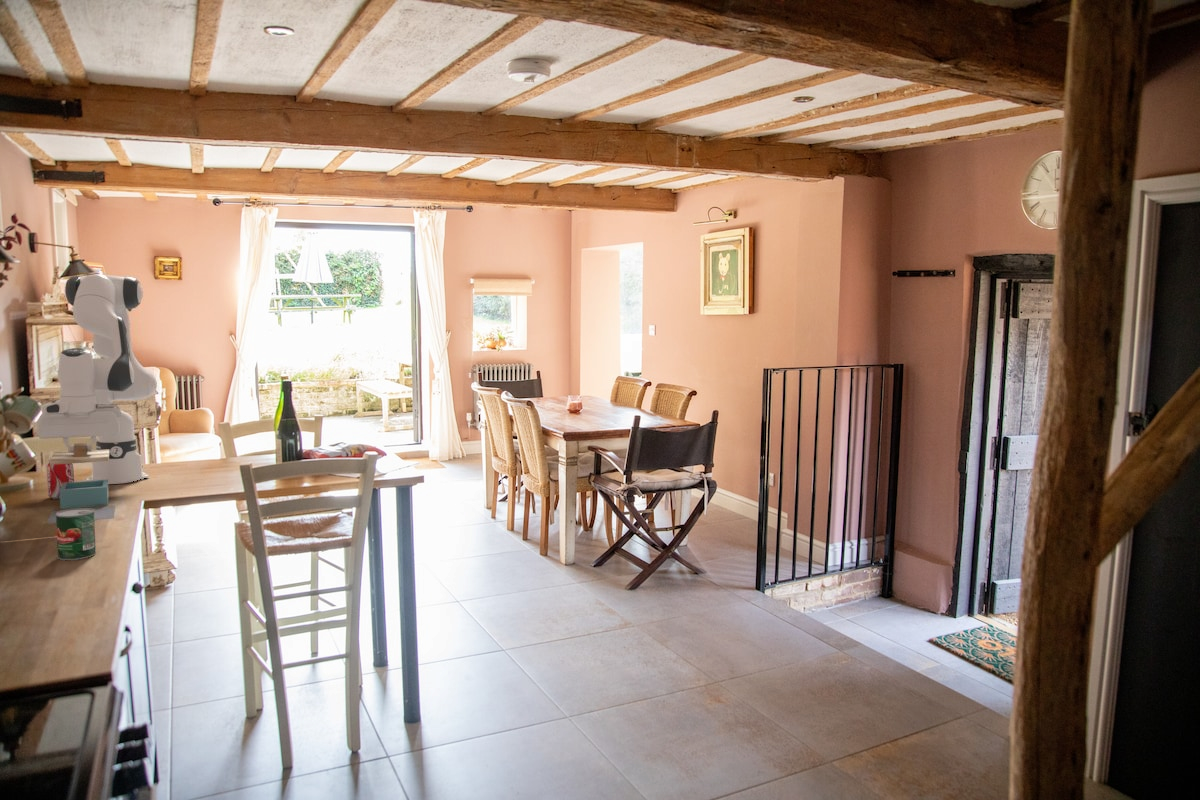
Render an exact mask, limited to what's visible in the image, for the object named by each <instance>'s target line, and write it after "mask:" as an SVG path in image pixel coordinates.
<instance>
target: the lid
mask: <svg viewBox="0 0 1200 800" xmlns="http://www.w3.org/2000/svg"><path fill="white" fill-rule="evenodd" d="M87 445H88V443H87V442H82V443H80V442H79V443H78V442H77V443H74V445H73V446H74V453H68V451H55V452H53V454H52V455H51V458H50V459H49V460H50V465H55V464H71V463H72V464H85V463H91V462H103V461H108V460H109V453H110V449H106V450H96V449H94V450H93V451H92V452H87V449H86V446H87Z"/></svg>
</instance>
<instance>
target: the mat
mask: <svg viewBox="0 0 1200 800" xmlns="http://www.w3.org/2000/svg"><path fill="white" fill-rule="evenodd" d="M89 508H90V509H93V510H94V521H96V520H108V519H109V520H110V519H115V510H116V506H115V505H110V506H109V505H105V506H94V507H89ZM64 510H65V509H60V510H51V512H50V515H49V517H48V519H47V521H46V525H53V524H54V525H55V524H56V513H58V512H60V511H64Z"/></svg>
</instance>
